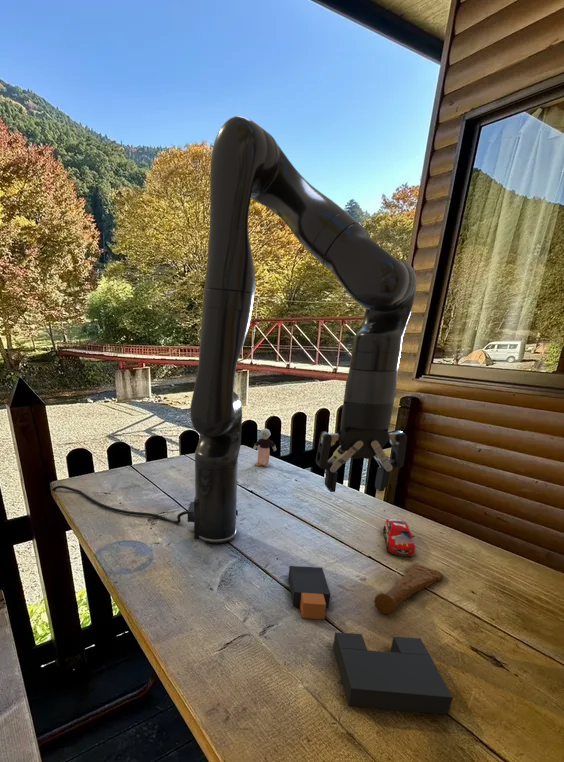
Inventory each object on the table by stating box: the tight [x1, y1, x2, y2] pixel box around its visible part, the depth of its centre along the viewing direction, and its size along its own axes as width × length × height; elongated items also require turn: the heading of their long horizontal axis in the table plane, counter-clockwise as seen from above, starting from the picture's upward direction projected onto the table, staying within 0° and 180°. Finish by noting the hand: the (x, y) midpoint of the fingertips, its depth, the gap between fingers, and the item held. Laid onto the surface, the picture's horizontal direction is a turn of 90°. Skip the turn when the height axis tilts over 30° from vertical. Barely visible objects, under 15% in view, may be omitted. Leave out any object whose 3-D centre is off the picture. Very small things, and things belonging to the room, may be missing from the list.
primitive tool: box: [374, 563, 444, 615], centre depth 73 cm, size 19×6×4 cm, turn 133°
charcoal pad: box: [288, 565, 331, 620], centre depth 72 cm, size 6×11×3 cm, turn 173°
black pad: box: [332, 631, 454, 716], centre depth 56 cm, size 12×10×3 cm
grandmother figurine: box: [252, 428, 277, 468], centre depth 136 cm, size 8×4×13 cm, turn 81°
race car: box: [382, 518, 416, 557], centre depth 89 cm, size 13×5×4 cm, turn 161°
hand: (354, 489), depth 72 cm, fingers open, 8 cm apart
